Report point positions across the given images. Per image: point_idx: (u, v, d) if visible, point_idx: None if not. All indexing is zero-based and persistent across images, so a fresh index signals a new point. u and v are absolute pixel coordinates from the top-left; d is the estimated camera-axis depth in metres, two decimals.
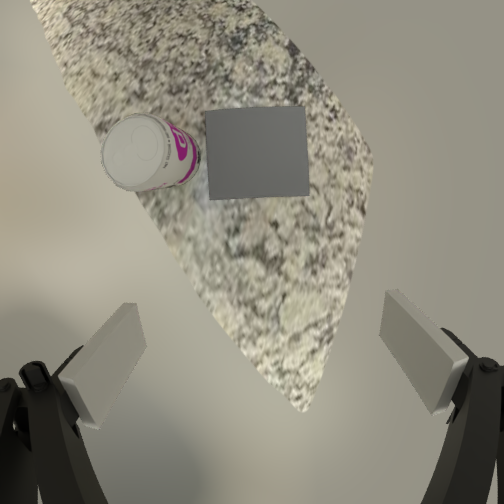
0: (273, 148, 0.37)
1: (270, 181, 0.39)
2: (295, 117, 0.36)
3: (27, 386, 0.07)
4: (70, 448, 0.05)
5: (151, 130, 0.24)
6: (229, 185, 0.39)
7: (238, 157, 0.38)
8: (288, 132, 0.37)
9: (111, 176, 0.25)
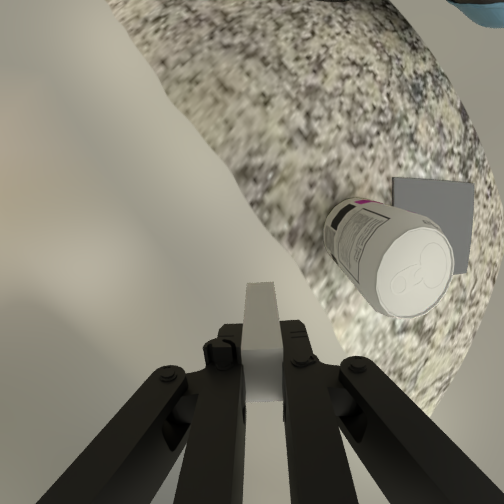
0: (449, 227, 0.31)
1: None
2: (467, 195, 0.29)
3: (207, 361, 0.09)
4: (237, 440, 0.06)
5: (443, 250, 0.17)
6: None
7: None
8: (461, 210, 0.30)
9: (384, 306, 0.18)
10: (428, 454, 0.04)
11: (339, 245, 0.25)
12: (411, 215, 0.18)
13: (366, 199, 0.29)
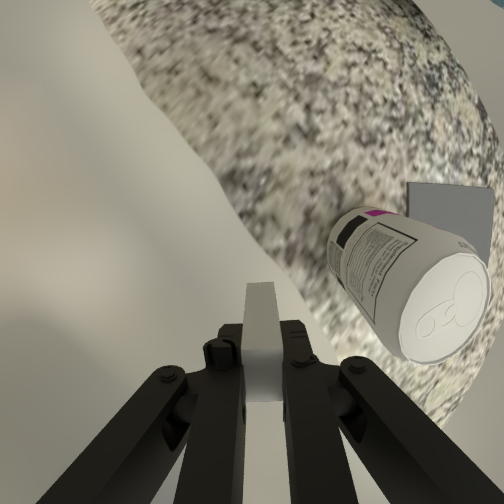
0: (468, 239, 0.26)
1: None
2: (487, 202, 0.24)
3: (207, 361, 0.09)
4: (237, 440, 0.06)
5: (480, 280, 0.12)
6: None
7: None
8: (481, 220, 0.25)
9: (406, 353, 0.13)
10: (428, 454, 0.04)
11: (348, 269, 0.20)
12: (444, 236, 0.13)
13: (378, 209, 0.24)
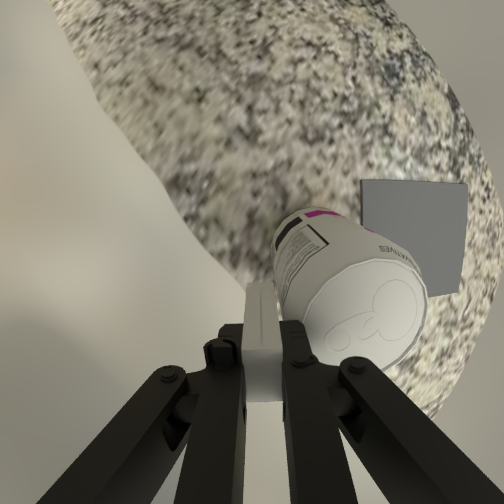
0: (436, 239, 0.26)
1: (427, 280, 0.27)
2: (459, 198, 0.25)
3: (208, 361, 0.09)
4: (238, 440, 0.06)
5: (411, 290, 0.12)
6: None
7: None
8: (452, 218, 0.25)
9: None
10: (428, 454, 0.04)
11: None
12: (361, 239, 0.13)
13: (323, 209, 0.24)
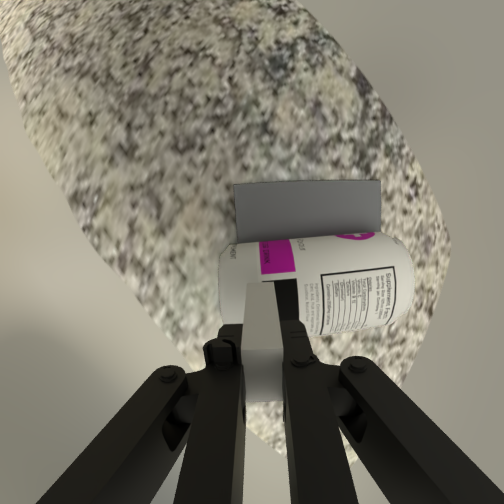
0: None
1: None
2: (367, 197, 0.25)
3: (207, 361, 0.09)
4: (237, 440, 0.06)
5: None
6: None
7: None
8: (357, 221, 0.26)
9: None
10: (428, 454, 0.04)
11: (325, 327, 0.20)
12: (395, 248, 0.20)
13: (244, 253, 0.21)
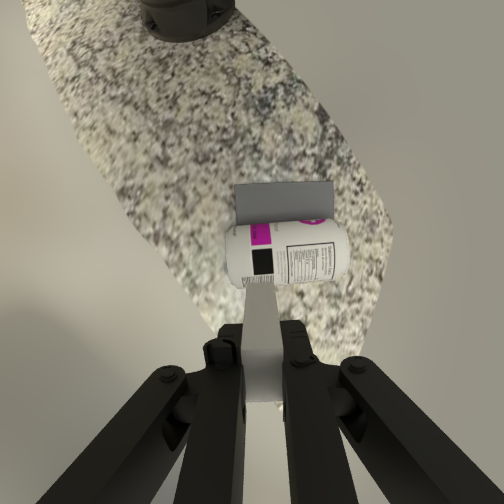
0: None
1: None
2: (324, 193, 0.39)
3: (207, 361, 0.09)
4: (237, 440, 0.06)
5: None
6: None
7: None
8: (316, 208, 0.40)
9: None
10: (428, 454, 0.04)
11: (290, 278, 0.34)
12: (336, 230, 0.33)
13: (241, 233, 0.34)
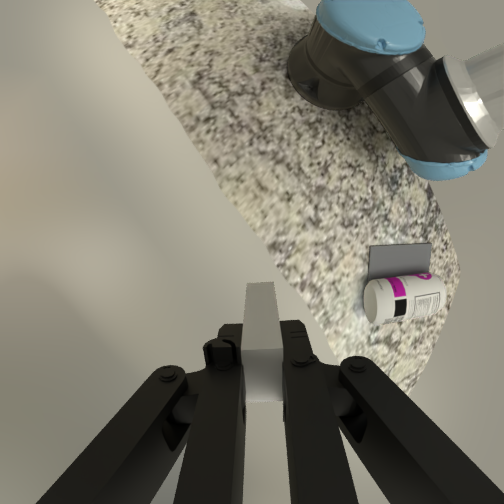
0: None
1: None
2: (425, 252, 0.48)
3: (207, 361, 0.09)
4: (237, 440, 0.06)
5: None
6: None
7: None
8: (420, 263, 0.48)
9: None
10: (428, 454, 0.04)
11: (412, 316, 0.43)
12: (440, 283, 0.42)
13: (386, 287, 0.43)
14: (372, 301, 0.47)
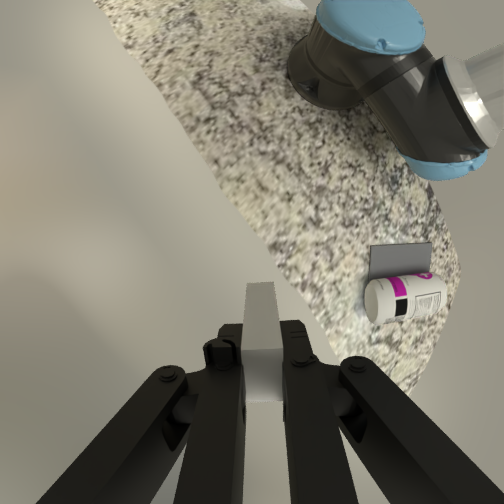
0: (410, 274, 0.49)
1: None
2: (426, 251, 0.48)
3: (207, 361, 0.09)
4: (237, 440, 0.06)
5: None
6: None
7: None
8: (420, 262, 0.48)
9: None
10: (428, 454, 0.04)
11: (413, 316, 0.43)
12: (441, 283, 0.42)
13: (386, 287, 0.43)
14: (372, 301, 0.47)
